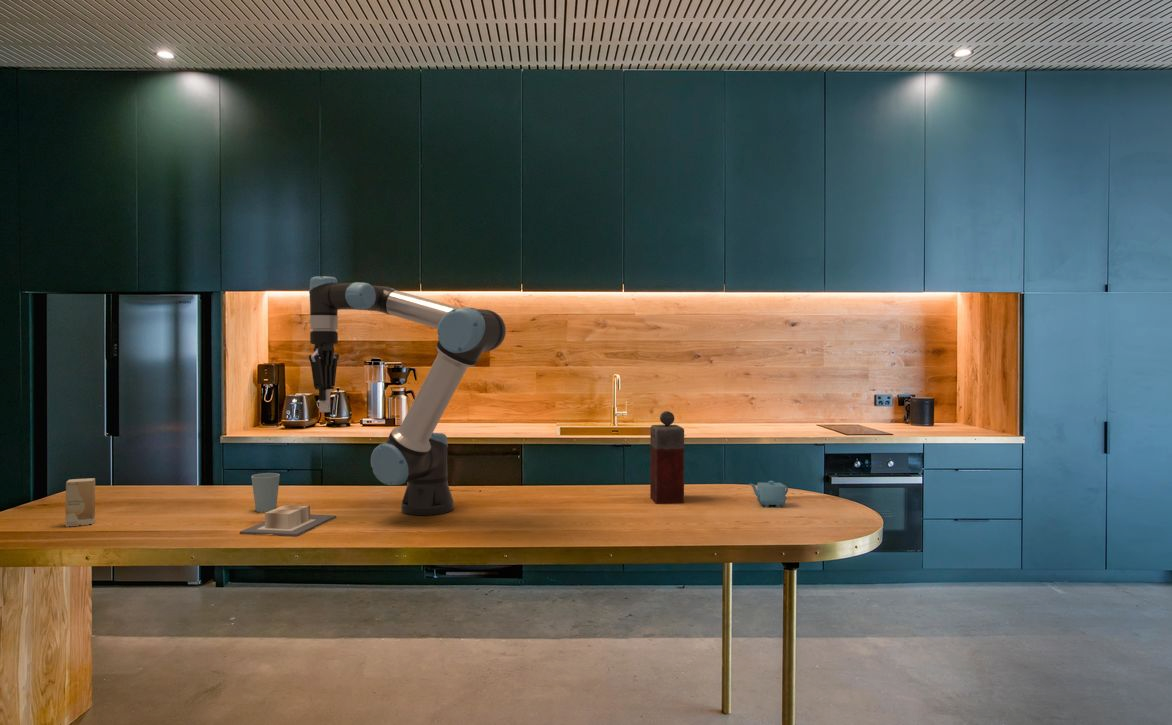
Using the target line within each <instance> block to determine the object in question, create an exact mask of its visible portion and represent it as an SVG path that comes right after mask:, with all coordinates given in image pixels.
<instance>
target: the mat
mask: <svg viewBox="0 0 1172 725" xmlns="http://www.w3.org/2000/svg"><path fill="white" fill-rule="evenodd" d="M334 519H337V515H333V514H329V515H328V514H311V513H310V520H309V521H306V522H304V523H302V524H300V525H298V526H295V527H293V528H291V529H275V528H265V520H264V521H262V522H260V523H259V522H258V524H254V525H253V526H249V527H248V528H245V529H242V530H240V531H239V534H240V535H256V534H273V535H272V536H278V535H284V536H285V537H299V536H301V535H304V533H307V532H309V531H311V530H313V529H316V528H318V527H319V525H320V526H322V525H323V524H327V523H328V522H331V521H332V520H334ZM321 524H322V525H321ZM317 526H318V527H317ZM315 527H316V528H315ZM284 536H283V537H284Z"/></svg>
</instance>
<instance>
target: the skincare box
mask: <svg viewBox="0 0 1172 725" xmlns="http://www.w3.org/2000/svg"><path fill="white" fill-rule="evenodd" d="M95 522H96V478H95V477H93V478H89V477H88V478H74V479H73V478H72V479H68V480H67V481H66V482H65V527H67V528H69V526H70V527H79V525H81V526H90V525H89V524H92V525H93V524H94V523H95Z"/></svg>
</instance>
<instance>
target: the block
mask: <svg viewBox="0 0 1172 725" xmlns="http://www.w3.org/2000/svg"><path fill="white" fill-rule="evenodd" d="M310 514H311V506H310V504H305V505H304V504H285V505H284V504H283V505H281V506H279V507H276V509H274V510H271V511H269V512H264V521H265V528H275V529H291V528H293V527H295V526H298V525H300V524H302V523H304V522H306V521H309V520H310Z"/></svg>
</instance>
